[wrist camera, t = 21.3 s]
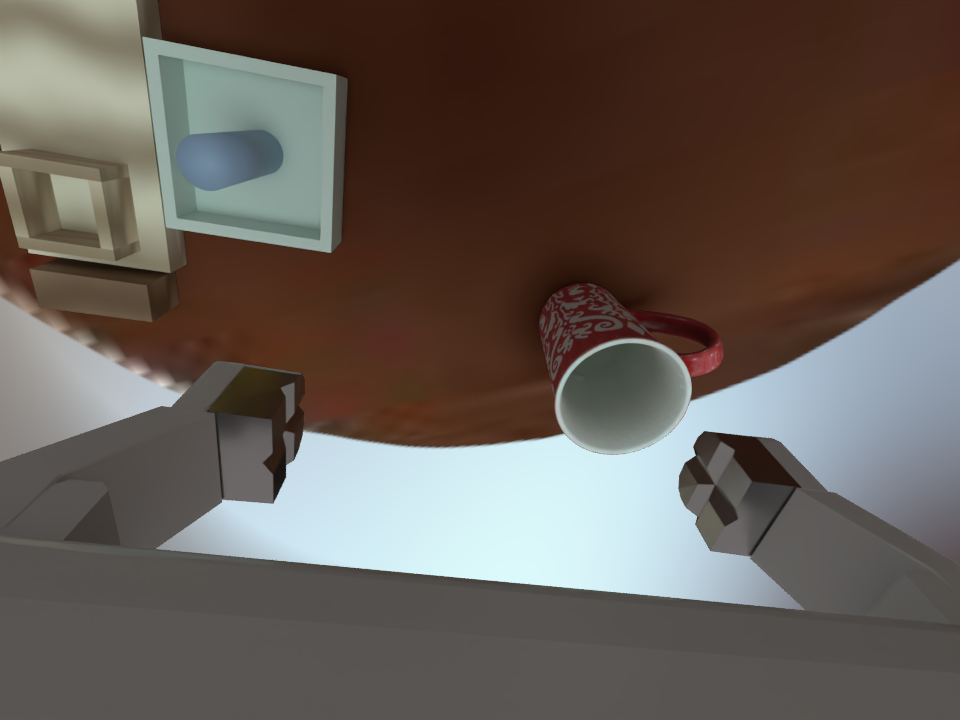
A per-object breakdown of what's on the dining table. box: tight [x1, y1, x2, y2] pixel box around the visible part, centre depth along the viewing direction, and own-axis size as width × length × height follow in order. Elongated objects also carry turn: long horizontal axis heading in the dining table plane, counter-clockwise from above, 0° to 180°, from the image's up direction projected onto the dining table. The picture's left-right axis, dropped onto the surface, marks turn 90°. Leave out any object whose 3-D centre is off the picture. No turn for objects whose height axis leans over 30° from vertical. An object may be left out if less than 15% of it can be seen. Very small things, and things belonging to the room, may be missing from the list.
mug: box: [539, 283, 724, 455], centre depth 37 cm, size 13×9×14 cm
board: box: [0, 0, 187, 273], centre depth 32 cm, size 18×10×6 cm, turn 170°
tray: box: [142, 37, 348, 253], centre depth 34 cm, size 12×12×4 cm
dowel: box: [176, 130, 283, 191], centre depth 31 cm, size 3×3×9 cm
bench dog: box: [30, 258, 179, 322], centre depth 37 cm, size 3×8×4 cm, turn 80°
